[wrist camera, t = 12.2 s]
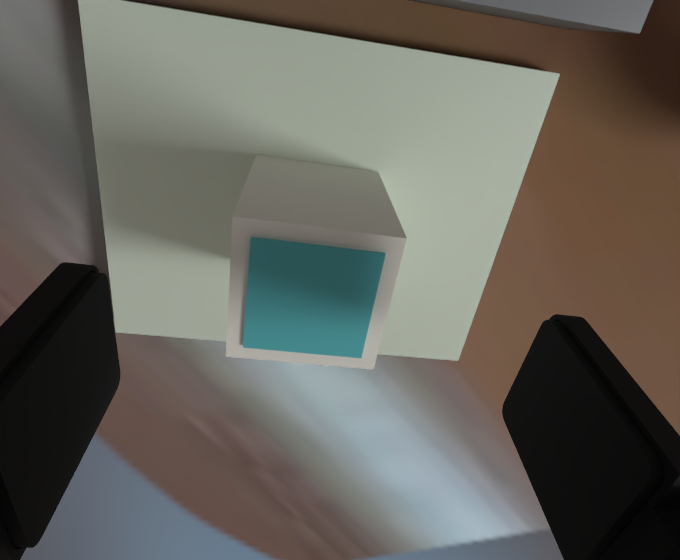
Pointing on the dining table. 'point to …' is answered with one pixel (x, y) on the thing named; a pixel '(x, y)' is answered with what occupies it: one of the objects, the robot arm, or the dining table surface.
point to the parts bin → (562, 12)
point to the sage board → (296, 157)
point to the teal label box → (312, 264)
